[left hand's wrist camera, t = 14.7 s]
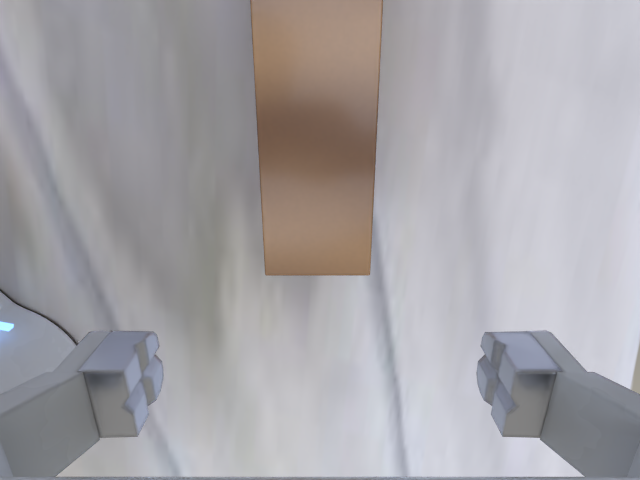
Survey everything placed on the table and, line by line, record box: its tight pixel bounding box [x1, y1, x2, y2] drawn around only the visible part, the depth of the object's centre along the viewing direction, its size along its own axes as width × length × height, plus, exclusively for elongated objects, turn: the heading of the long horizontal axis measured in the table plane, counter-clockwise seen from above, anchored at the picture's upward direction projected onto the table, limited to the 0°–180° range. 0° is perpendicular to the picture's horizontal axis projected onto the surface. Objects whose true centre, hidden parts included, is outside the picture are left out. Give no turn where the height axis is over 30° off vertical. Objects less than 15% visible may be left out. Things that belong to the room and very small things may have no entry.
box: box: [250, 0, 383, 275], centre depth 24 cm, size 28×6×13 cm, turn 0°
